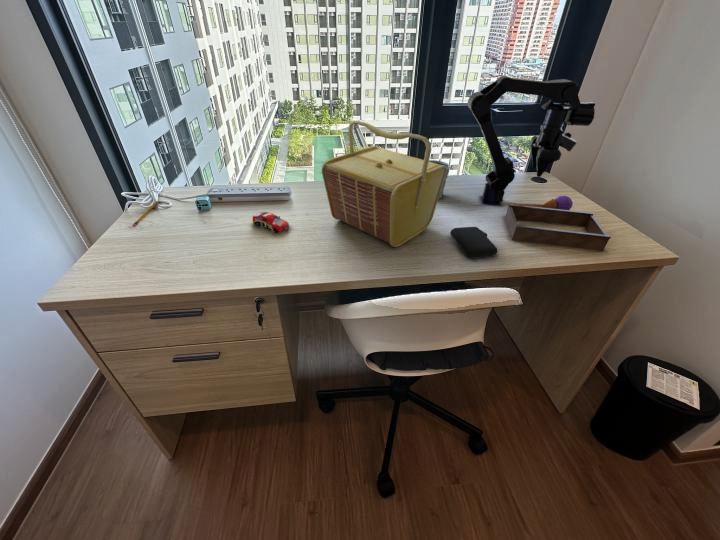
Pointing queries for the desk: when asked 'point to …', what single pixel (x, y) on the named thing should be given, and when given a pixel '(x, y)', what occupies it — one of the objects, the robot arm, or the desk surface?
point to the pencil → (145, 213)
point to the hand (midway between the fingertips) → (536, 172)
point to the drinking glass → (446, 173)
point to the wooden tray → (590, 240)
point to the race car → (270, 222)
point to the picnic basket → (383, 188)
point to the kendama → (554, 203)
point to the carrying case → (473, 242)
